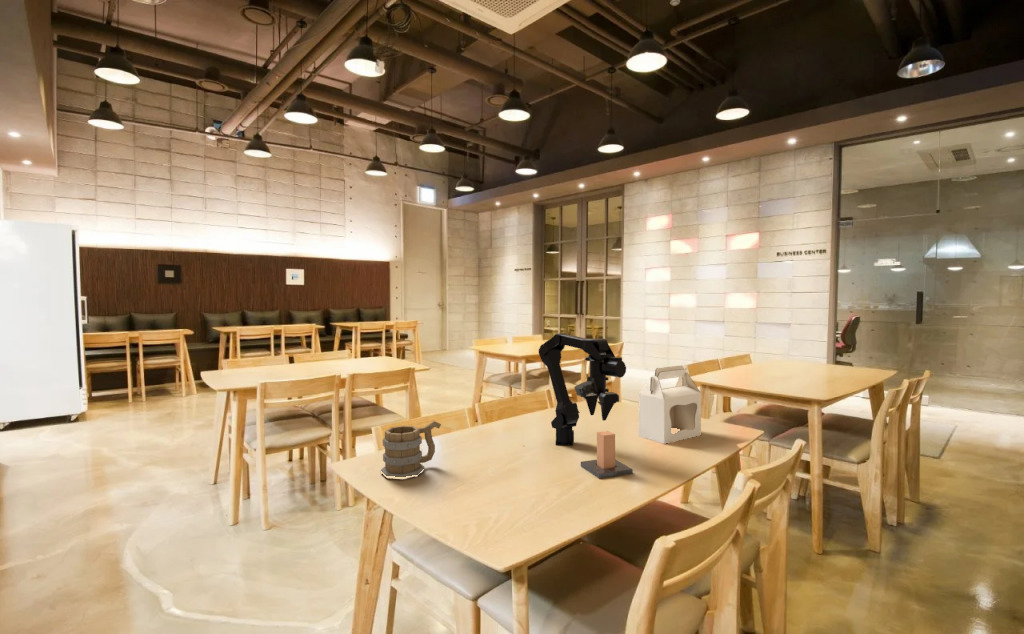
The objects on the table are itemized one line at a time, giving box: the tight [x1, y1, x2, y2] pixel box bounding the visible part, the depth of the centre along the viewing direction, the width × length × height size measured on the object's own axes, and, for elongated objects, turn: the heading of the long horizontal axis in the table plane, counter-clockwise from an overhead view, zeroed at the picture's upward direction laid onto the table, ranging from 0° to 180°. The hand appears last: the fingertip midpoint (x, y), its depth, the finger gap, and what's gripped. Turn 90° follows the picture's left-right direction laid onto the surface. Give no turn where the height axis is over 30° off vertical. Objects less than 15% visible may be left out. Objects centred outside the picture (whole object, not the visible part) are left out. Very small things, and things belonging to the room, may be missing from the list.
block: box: [596, 430, 616, 469], centre depth 154 cm, size 4×4×12 cm
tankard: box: [380, 420, 442, 477], centre depth 155 cm, size 20×13×15 cm, turn 123°
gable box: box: [638, 365, 702, 445], centre depth 192 cm, size 22×13×28 cm, turn 122°
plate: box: [580, 458, 633, 480], centre depth 154 cm, size 12×12×2 cm
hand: (597, 417), depth 170 cm, fingers open, 8 cm apart
